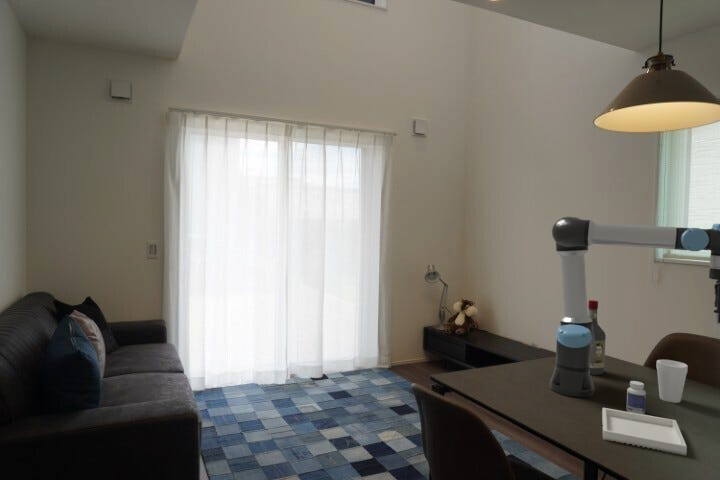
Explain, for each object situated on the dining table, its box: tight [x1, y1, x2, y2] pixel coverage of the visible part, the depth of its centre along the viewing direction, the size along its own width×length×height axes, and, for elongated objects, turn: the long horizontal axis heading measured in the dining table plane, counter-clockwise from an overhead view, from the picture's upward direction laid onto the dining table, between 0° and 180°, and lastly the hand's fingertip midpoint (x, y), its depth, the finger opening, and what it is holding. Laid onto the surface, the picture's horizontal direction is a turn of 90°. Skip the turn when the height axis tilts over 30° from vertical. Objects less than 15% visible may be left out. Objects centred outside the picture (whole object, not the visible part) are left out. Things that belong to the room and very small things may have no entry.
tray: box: [601, 407, 688, 456], centre depth 143 cm, size 20×20×2 cm
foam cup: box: [655, 359, 688, 404], centre depth 172 cm, size 10×9×13 cm
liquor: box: [587, 299, 607, 376], centre depth 203 cm, size 9×9×30 cm
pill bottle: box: [625, 380, 647, 415], centre depth 160 cm, size 5×5×10 cm
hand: (718, 329), depth 168 cm, fingers open, 13 cm apart
